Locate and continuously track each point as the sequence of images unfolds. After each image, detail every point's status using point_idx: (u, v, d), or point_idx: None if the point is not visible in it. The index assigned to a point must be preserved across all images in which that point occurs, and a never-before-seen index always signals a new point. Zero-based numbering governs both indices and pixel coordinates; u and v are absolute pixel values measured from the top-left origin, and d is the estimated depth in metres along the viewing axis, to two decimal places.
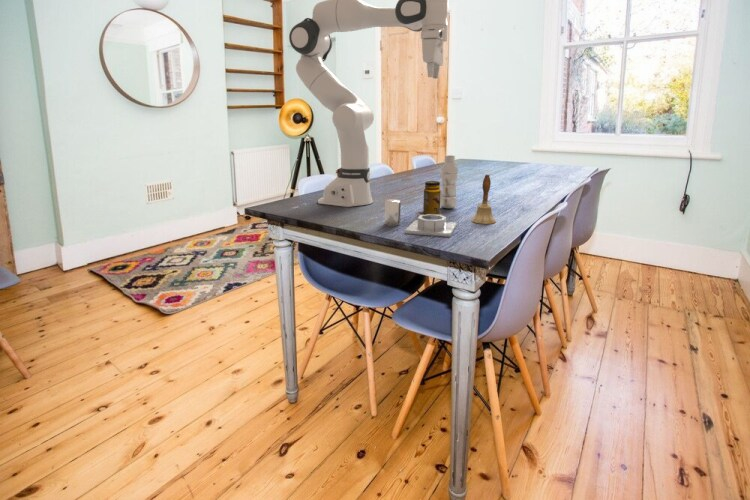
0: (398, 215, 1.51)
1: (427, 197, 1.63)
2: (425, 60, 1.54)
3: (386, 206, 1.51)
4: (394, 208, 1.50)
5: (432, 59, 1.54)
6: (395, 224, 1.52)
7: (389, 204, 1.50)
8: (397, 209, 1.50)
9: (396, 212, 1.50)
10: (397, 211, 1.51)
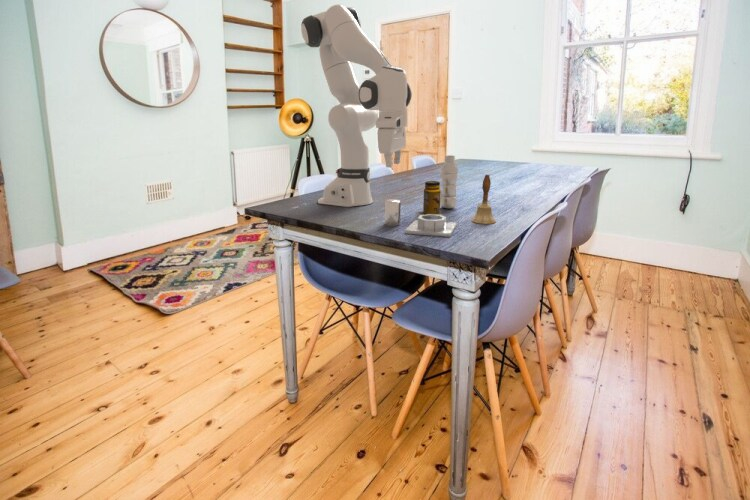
0: (398, 215, 1.51)
1: (427, 197, 1.63)
2: (381, 152, 1.38)
3: (386, 206, 1.51)
4: (394, 208, 1.50)
5: (389, 151, 1.37)
6: (395, 224, 1.52)
7: (389, 204, 1.50)
8: (397, 209, 1.50)
9: (396, 212, 1.50)
10: (397, 211, 1.51)
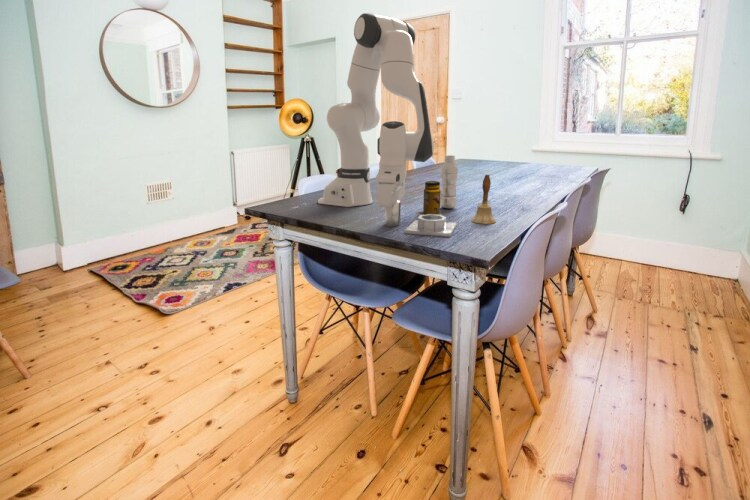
0: (398, 215, 1.51)
1: (427, 197, 1.63)
2: (381, 205, 1.43)
3: None
4: (394, 208, 1.50)
5: (388, 205, 1.42)
6: (395, 224, 1.52)
7: None
8: (397, 209, 1.50)
9: (396, 212, 1.50)
10: (397, 211, 1.51)
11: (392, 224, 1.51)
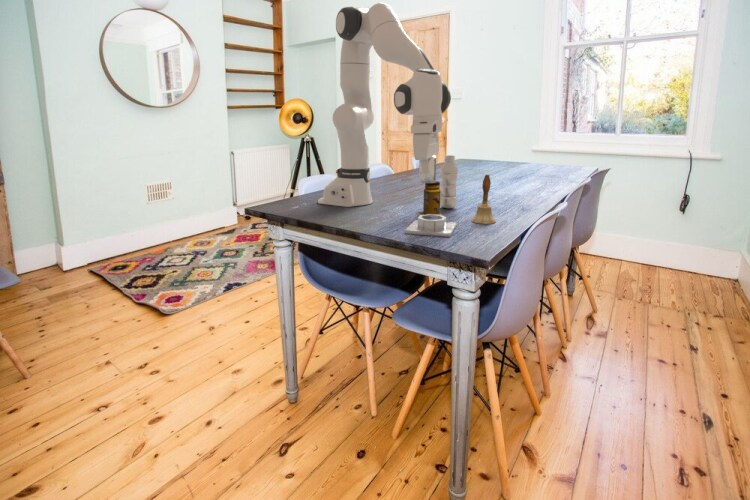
0: (434, 171, 1.40)
1: (427, 197, 1.63)
2: (417, 158, 1.32)
3: None
4: (430, 163, 1.39)
5: (425, 157, 1.31)
6: (431, 181, 1.41)
7: None
8: (433, 164, 1.40)
9: (432, 167, 1.40)
10: (433, 167, 1.40)
11: (428, 181, 1.41)
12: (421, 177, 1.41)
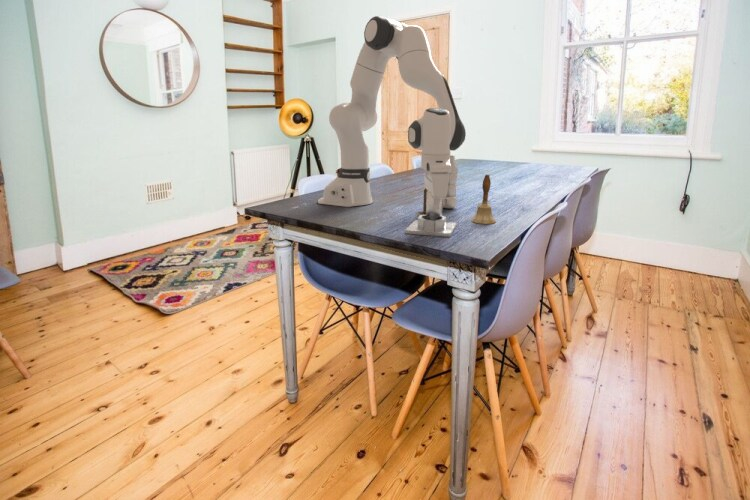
0: (442, 206, 1.44)
1: None
2: (437, 197, 1.34)
3: (430, 198, 1.42)
4: None
5: (445, 196, 1.34)
6: (440, 216, 1.44)
7: None
8: (441, 200, 1.43)
9: (441, 203, 1.43)
10: (441, 202, 1.44)
11: (437, 216, 1.44)
12: (430, 213, 1.44)
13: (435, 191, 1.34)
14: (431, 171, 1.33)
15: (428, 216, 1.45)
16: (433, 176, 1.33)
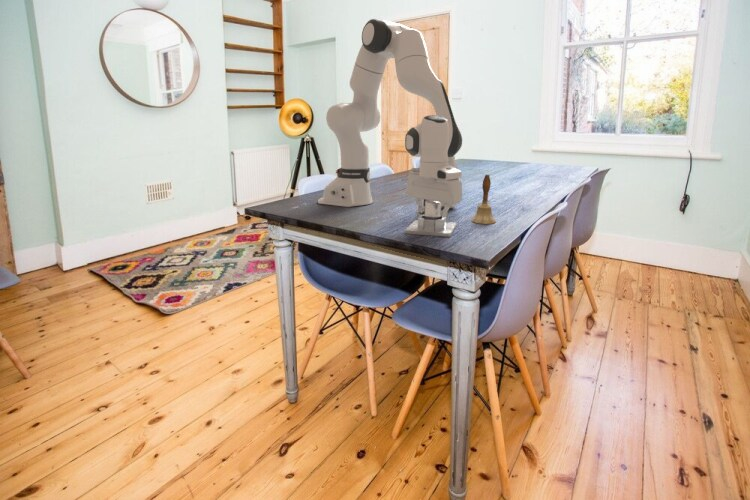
0: None
1: None
2: (455, 203, 1.37)
3: (431, 208, 1.43)
4: (439, 208, 1.44)
5: (460, 201, 1.38)
6: None
7: (434, 205, 1.43)
8: (440, 209, 1.45)
9: None
10: None
11: None
12: None
13: (454, 197, 1.35)
14: (449, 178, 1.34)
15: None
16: (451, 183, 1.34)
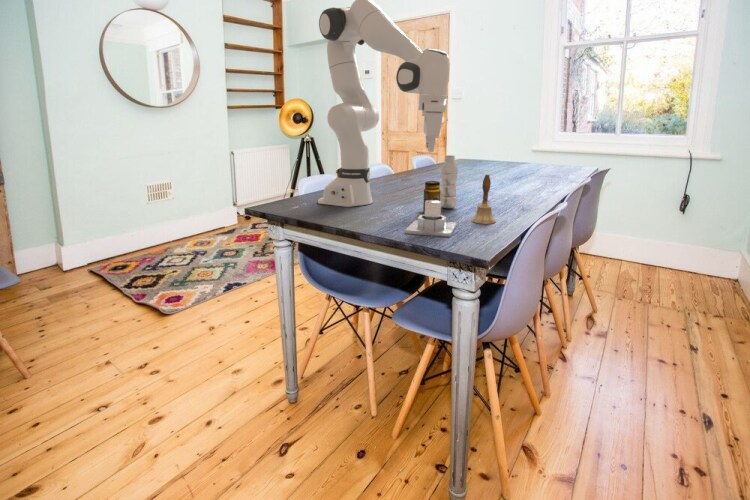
0: (440, 215, 1.46)
1: (427, 197, 1.63)
2: (429, 136, 1.37)
3: (431, 208, 1.43)
4: (439, 208, 1.44)
5: (437, 135, 1.37)
6: None
7: (435, 205, 1.43)
8: (440, 209, 1.45)
9: (440, 212, 1.45)
10: (440, 211, 1.45)
11: None
12: None
13: (428, 130, 1.36)
14: (425, 110, 1.36)
15: None
16: (427, 115, 1.36)
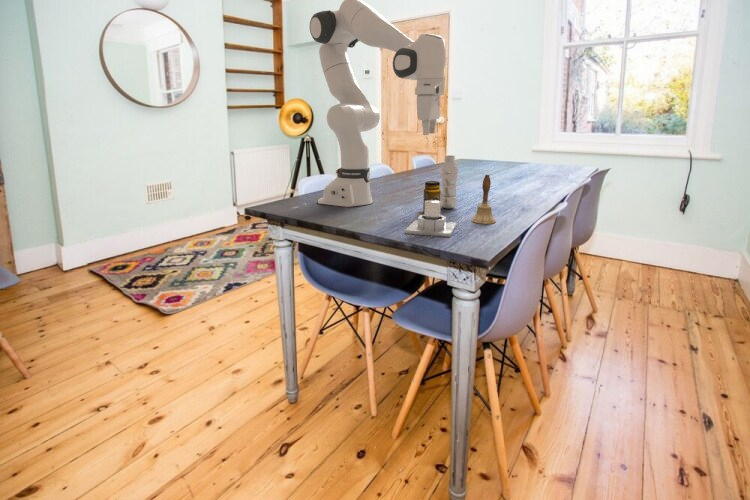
0: (440, 215, 1.46)
1: (427, 197, 1.63)
2: (420, 118, 1.39)
3: (430, 208, 1.43)
4: (439, 208, 1.44)
5: (428, 118, 1.39)
6: None
7: (434, 205, 1.43)
8: (440, 209, 1.45)
9: (440, 212, 1.45)
10: (440, 211, 1.45)
11: None
12: None
13: (418, 112, 1.39)
14: (416, 93, 1.39)
15: None
16: (417, 98, 1.38)
